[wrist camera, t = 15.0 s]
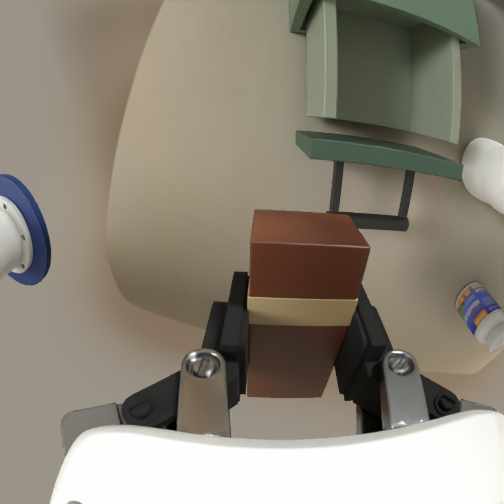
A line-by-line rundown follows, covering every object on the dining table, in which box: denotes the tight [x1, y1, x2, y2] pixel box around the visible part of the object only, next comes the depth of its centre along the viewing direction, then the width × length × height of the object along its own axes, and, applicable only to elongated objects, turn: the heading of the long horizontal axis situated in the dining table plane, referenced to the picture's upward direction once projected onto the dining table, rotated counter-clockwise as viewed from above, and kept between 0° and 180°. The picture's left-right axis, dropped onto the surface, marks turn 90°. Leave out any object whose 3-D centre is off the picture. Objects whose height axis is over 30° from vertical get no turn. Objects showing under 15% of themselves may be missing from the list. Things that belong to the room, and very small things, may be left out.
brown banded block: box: [247, 209, 370, 398], centre depth 11 cm, size 4×8×3 cm, turn 179°
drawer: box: [296, 0, 464, 231], centre depth 16 cm, size 19×11×8 cm, turn 179°
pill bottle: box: [456, 282, 504, 353], centre depth 25 cm, size 5×5×10 cm
